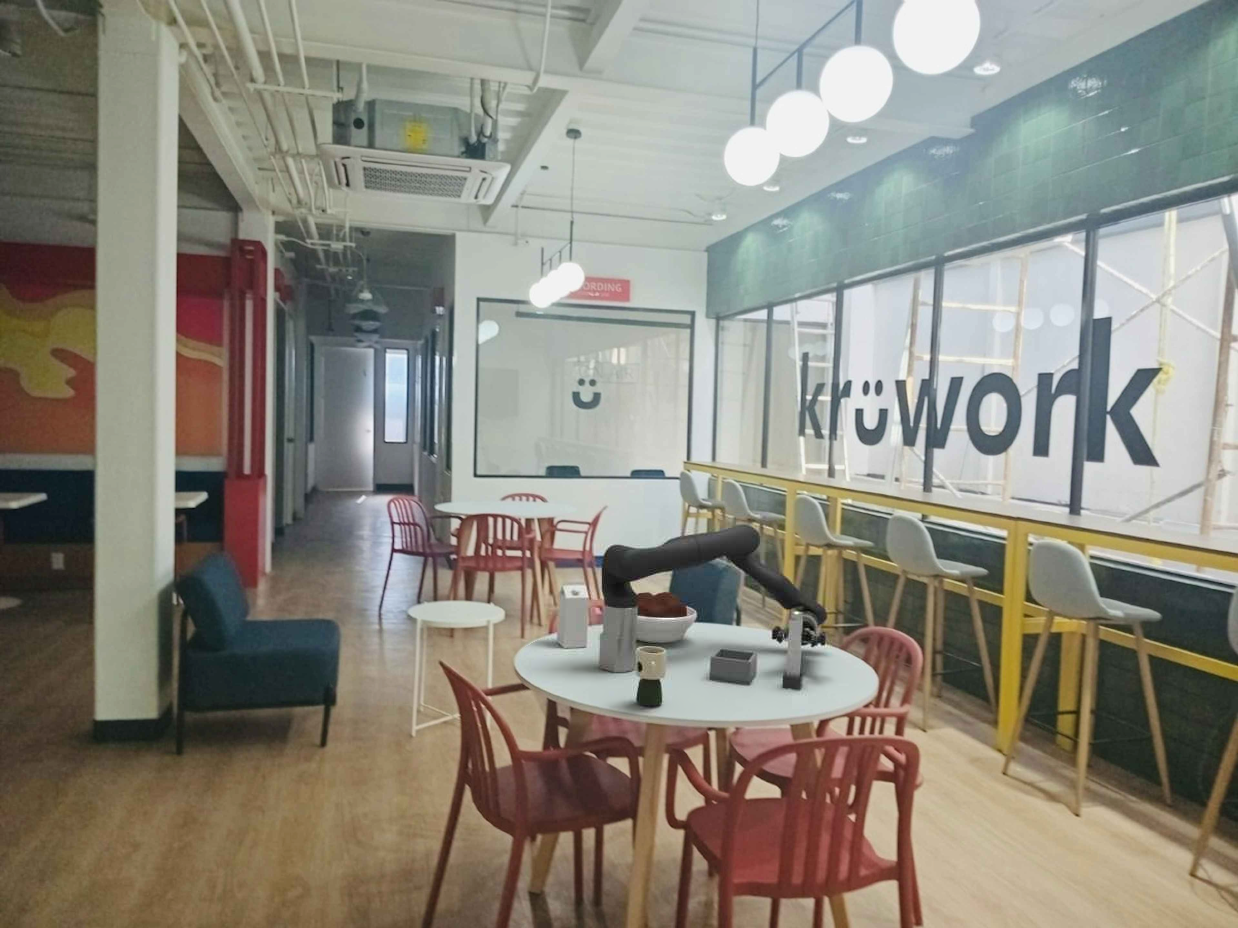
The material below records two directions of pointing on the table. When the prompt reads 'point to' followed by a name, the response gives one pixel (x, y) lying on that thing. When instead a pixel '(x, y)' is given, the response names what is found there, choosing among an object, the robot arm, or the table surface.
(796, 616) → the brushed steel column
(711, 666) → the holder
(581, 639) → the milk carton
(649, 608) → the bowl of brownies
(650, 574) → the robot arm
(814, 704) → the table surface
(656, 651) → the character mug
